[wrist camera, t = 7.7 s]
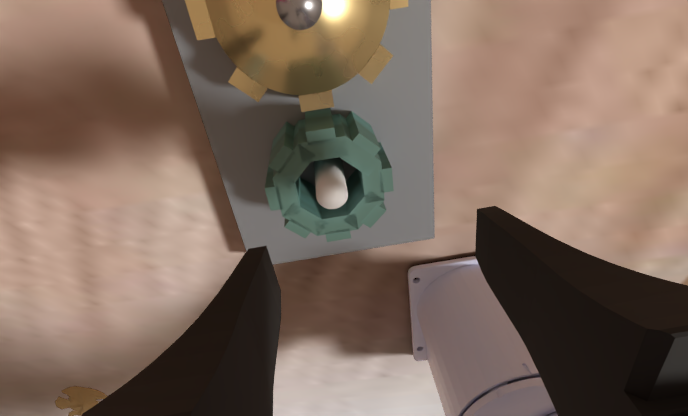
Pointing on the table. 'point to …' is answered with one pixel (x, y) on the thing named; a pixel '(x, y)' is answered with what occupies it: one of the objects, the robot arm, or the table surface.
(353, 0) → the brass gear
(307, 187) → the loose gear
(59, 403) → the toy pieces
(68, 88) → the table surface
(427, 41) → the gear board
